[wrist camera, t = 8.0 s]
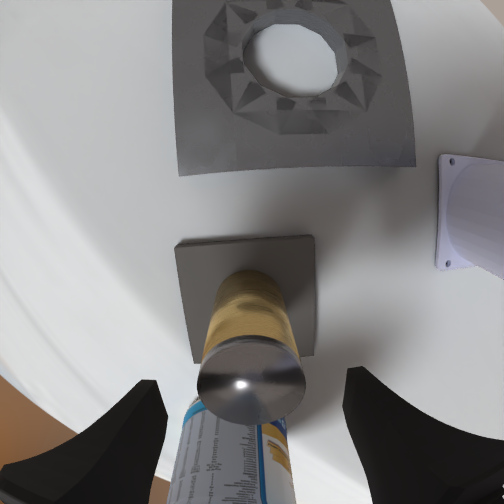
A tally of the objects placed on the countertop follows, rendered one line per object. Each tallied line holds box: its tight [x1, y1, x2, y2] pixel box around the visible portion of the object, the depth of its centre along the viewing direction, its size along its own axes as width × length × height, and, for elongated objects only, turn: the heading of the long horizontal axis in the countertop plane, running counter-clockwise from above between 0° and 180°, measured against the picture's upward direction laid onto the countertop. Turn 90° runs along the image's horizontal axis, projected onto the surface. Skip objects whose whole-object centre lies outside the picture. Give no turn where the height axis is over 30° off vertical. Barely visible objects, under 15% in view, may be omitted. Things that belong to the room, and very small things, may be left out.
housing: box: [172, 0, 416, 176], centre depth 14 cm, size 13×13×2 cm
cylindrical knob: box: [197, 270, 306, 425], centre depth 14 cm, size 4×4×8 cm
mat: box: [174, 235, 315, 364], centre depth 19 cm, size 8×8×1 cm
